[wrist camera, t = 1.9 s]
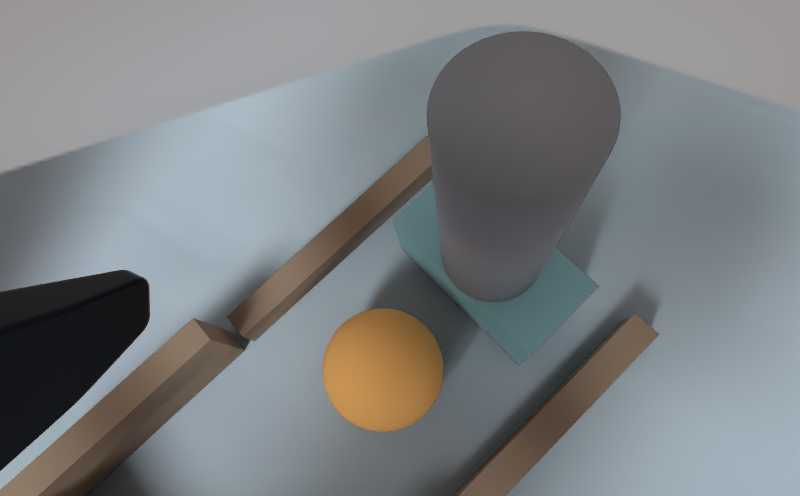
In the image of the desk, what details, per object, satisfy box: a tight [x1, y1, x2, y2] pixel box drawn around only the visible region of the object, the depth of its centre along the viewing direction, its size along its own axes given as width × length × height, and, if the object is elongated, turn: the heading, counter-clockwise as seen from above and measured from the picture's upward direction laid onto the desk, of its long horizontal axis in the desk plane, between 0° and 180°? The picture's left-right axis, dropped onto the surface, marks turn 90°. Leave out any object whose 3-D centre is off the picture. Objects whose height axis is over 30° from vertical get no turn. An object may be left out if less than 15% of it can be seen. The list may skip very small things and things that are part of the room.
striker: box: [393, 32, 621, 365], centre depth 15 cm, size 3×6×12 cm, turn 43°
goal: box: [0, 135, 659, 496], centre depth 18 cm, size 20×11×3 cm, turn 133°
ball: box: [323, 308, 444, 432], centre depth 18 cm, size 4×4×4 cm
